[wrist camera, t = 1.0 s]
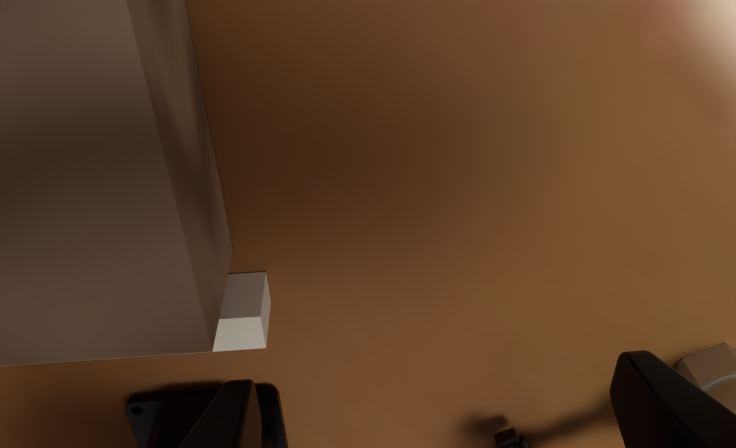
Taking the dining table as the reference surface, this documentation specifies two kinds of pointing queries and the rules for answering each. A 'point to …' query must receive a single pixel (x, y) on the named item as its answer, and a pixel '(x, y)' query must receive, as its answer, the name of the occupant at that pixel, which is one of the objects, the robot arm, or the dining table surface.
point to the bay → (242, 313)
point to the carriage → (106, 184)
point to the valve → (705, 369)
